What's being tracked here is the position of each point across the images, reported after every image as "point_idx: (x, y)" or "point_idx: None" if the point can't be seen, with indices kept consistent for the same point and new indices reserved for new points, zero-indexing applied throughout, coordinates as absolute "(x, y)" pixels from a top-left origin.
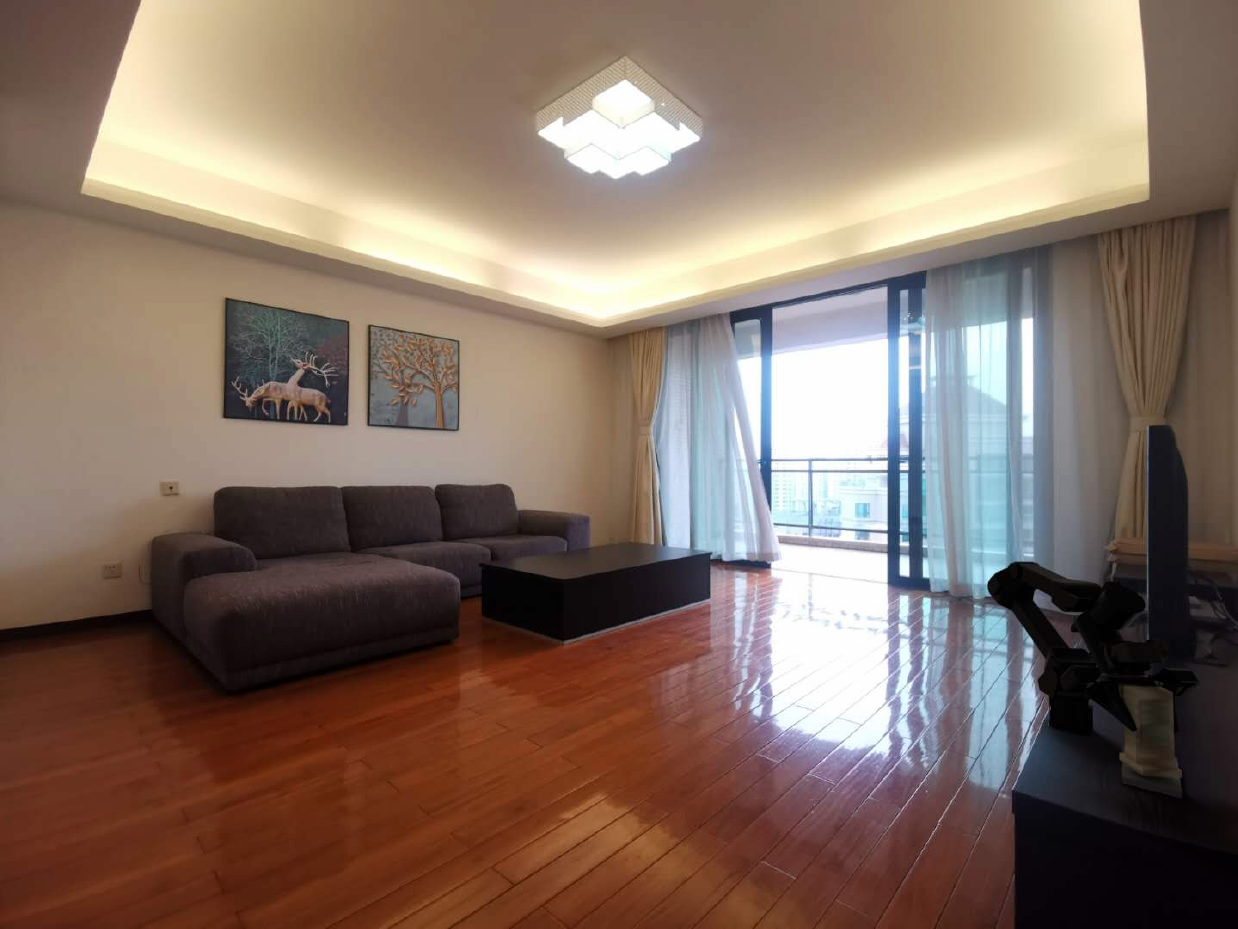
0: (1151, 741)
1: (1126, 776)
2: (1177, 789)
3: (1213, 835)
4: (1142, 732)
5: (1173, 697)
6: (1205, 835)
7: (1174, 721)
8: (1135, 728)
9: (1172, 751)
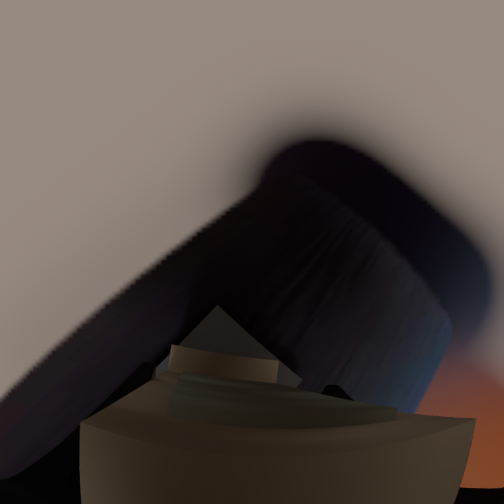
0: (252, 382)
1: (291, 380)
2: (218, 315)
3: (273, 197)
4: (297, 388)
5: (25, 479)
6: (287, 199)
7: (132, 391)
8: (335, 386)
9: (169, 373)
